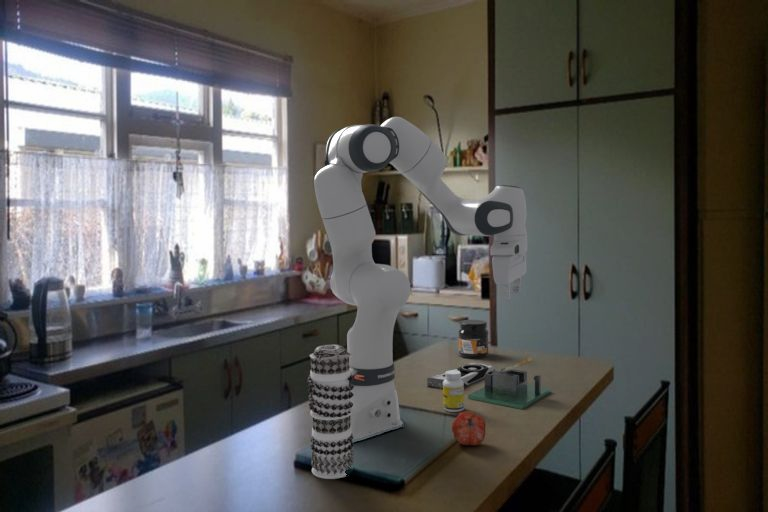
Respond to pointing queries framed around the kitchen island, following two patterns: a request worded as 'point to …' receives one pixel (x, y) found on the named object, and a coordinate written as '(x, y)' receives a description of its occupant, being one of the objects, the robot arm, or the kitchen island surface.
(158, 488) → the kitchen island surface
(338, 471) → the decorative candle
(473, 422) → the pomegranate
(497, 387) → the circuit board
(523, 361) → the white strip
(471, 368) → the graphics card
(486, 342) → the supplement container
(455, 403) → the supplement bottle
